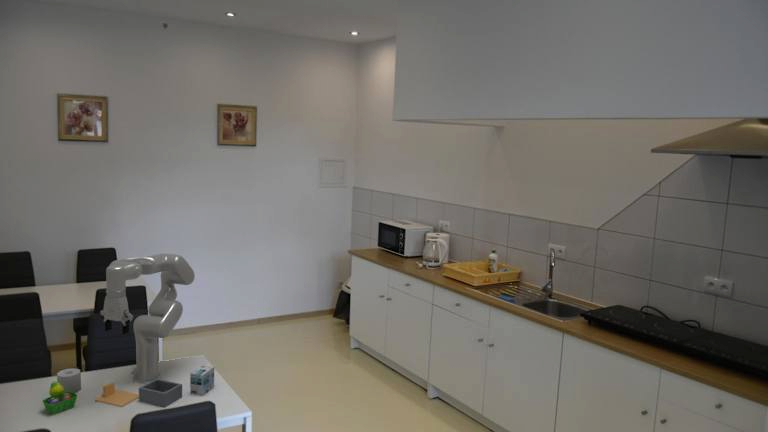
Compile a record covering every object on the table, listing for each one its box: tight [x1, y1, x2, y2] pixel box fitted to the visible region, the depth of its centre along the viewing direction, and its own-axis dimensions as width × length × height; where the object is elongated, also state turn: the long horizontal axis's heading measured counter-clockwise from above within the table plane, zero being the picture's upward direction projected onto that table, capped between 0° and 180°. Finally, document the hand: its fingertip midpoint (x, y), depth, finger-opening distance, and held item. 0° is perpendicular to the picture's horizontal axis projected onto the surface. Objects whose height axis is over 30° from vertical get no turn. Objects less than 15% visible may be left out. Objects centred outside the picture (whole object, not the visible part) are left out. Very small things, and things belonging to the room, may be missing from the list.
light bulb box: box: [189, 364, 215, 397], centre depth 264 cm, size 11×7×11 cm, turn 168°
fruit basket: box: [42, 381, 78, 415], centre depth 243 cm, size 11×9×11 cm
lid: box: [94, 381, 139, 408], centre depth 253 cm, size 15×12×7 cm
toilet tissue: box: [56, 367, 82, 394], centre depth 262 cm, size 9×13×9 cm
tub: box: [138, 378, 183, 408], centre depth 254 cm, size 14×11×7 cm
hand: (117, 331), depth 252 cm, fingers open, 9 cm apart
